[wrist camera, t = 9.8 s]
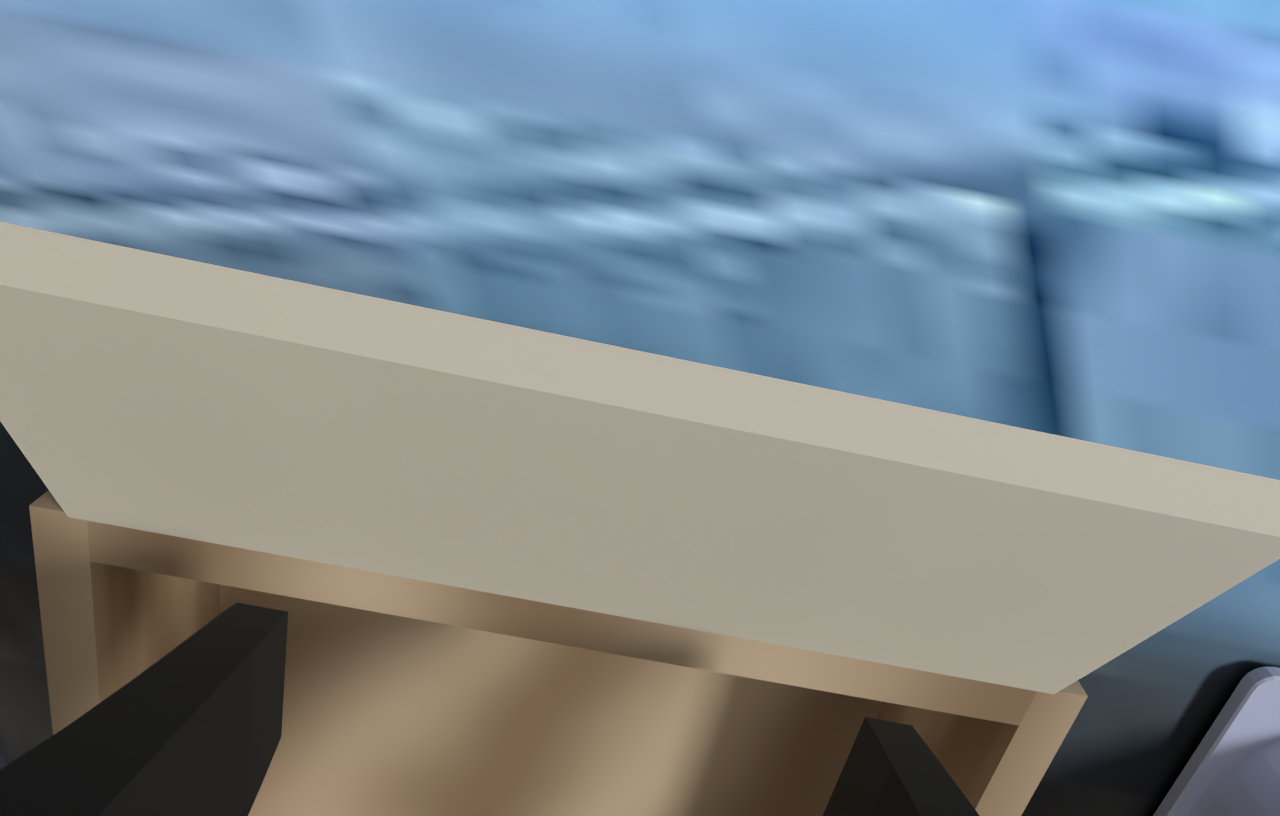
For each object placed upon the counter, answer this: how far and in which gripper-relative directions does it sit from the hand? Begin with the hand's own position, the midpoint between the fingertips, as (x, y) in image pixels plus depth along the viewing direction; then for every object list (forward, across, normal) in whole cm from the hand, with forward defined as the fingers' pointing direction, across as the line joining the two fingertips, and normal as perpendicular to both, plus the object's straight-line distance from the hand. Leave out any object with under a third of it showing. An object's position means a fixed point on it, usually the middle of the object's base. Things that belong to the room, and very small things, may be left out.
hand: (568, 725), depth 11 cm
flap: (+1, 0, -2) cm, 2 cm away
